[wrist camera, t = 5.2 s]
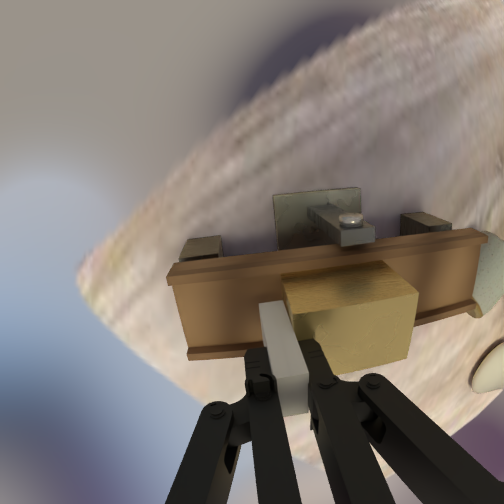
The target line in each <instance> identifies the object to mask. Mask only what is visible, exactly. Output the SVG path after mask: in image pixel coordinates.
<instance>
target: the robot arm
mask: <svg viewBox="0 0 504 504" xmlns="http://www.w3.org/2000/svg"><path fill="white" fill-rule="evenodd" d="M259 312H260V320H261V329H262V337H263V343H264V347H261V348H253V349H247V351H246V353H245V355H244V361H245V372H246V380H245V388H246V395H245V396H244V397H243V398H242V399H241V400H240V401H238V402H236V403H233V404H230V405H229V404H228V403H226V402H222V401H215V402H212V403H209V404H207V405H206V406H205V407H204V408H203V410H202V411H201V414H200V416H199V419H198V422H197V424H196V427H195V429H194V432H193V434H192V437H191V439H190V442H189V445H188V447H187V449H186V452H185V455H184V457H183V460H182V462H181V465H180V467H179V470H178V472H177V475H176V477H175V480H174V482H173V485H172V487H171V490H170V492H169V495H168V497H167V500H166V502H165V504H227V500H228V496H229V492H230V489H231V485H232V481H233V477H234V473H235V469H236V465H237V461H238V457H239V453H240V449H241V445H242V444H245V443H247V442H249V441H252V450H253V458H254V468H255V477H256V486H257V494H258V503H259V504H302V502H301V498H300V493H299V488H298V484H297V479H296V474H295V470H294V465H293V461H292V456H291V451H290V447H289V442H288V437H287V433H286V428H285V423H284V419H283V417H287V416H293V415H299V414H304V413H308V411H309V410H310V413H311V422H310V430H314V434H315V437H316V440H317V444H318V447H319V450H320V454H321V457H322V461H323V464H324V467H325V471H326V474H327V477H328V481H329V484H330V488H331V491H332V494H333V498H334V501H335V504H396V503H395V501H394V499H393V496H392V494H391V492H390V489H389V487H388V484H387V483H386V480H385V478H384V475H383V473H382V471H381V468H380V466H379V464H378V461H377V459H376V457H375V455H374V452H373V450H372V448H371V446H370V444H371V445H372V446H373V447H374V448H375V450H376V451H377V452H378V453H379V454H380V455H381V457H382V458H383V459H384V460H385V461H386V462H387V464H388V465H389V466H390V467H391V468H392V469H393V470H394V472H395V473H396V474H397V475H398V476H399V477H400V478H401V480H402V481H403V482H404V483H405V484H406V485H407V486H408V487H409V489H410V490H411V491H412V492H413V493H414V494H415V495H416V497H417V498H418V499H419V500H420V501H421V502H422V503H423V504H504V482H501V481H498V480H497V479H496V478H495V477H494V476H493V475H492V474H491V473H489V472H488V471H487V470H486V469H485V468H484V467H483V466H482V465H481V464H480V463H478V462H477V461H476V460H475V459H474V458H473V457H472V456H471V455H470V454H468V453H467V452H466V451H465V450H464V449H463V448H462V447H461V446H460V445H459V444H458V443H456V442H455V441H454V440H453V439H452V438H451V437H450V436H449V435H448V434H447V433H445V432H444V431H443V430H442V429H441V428H440V427H439V426H438V425H437V424H436V423H435V422H433V421H432V420H431V419H430V418H429V417H428V416H427V415H426V414H425V413H424V412H422V411H421V410H420V409H419V408H418V407H417V406H416V405H415V404H414V403H413V402H412V401H410V400H409V399H408V398H407V397H406V396H405V395H404V394H403V393H402V392H401V391H399V390H398V389H397V388H396V387H395V386H394V385H393V384H392V383H391V382H390V381H389V380H387V379H386V378H385V377H384V376H382V375H381V374H377V373H369V374H366V375H364V376H363V377H361V379H360V380H359V382H348V381H343V380H340V379H339V378H338V377H337V376H336V375H334V374H333V372H332V370H331V368H330V365H329V363H328V361H327V359H326V357H325V355H324V352H323V351H322V348H321V346H320V344H319V343H318V342H317V341H316V340H314V339H313V338H312V339H306V340H301V341H297V338H296V335H295V333H294V331H293V327H292V324H291V322H290V319H289V316H288V314H287V311H286V308H285V305H284V303H283V300H279V301H273V302H266V303H259ZM369 442H370V443H369Z"/></svg>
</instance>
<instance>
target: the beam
mask: <svg viewBox="0 0 504 504" xmlns="http://www.w3.org/2000/svg"><path fill="white" fill-rule="evenodd" d="M485 243H488V235H486V234H484V233H481V232H479V231H477V230H475V229H472V228H465V229H457V230H448V231H440V232H432V233H423V234H415V235H407V236H398V237H390V238H382V239H375V242H372V243H364V244H357V245H350V246H343V247H341V246H340V245H339V244H331V245H323V246H314V247H306V248H297V249H289V250H280V251H272V252H263V253H255V254H246V255H238V256H229V257H221V258H212V259H204V260H195V261H186V262H178V263H174V264H173V266H172V268H171V269H170V271H169V273H168V275H167V276H166V279H167V283H168V286H171V285H172V287H173V291H174V295H175V299H176V303H177V307H178V311H179V315H180V319H181V323H182V326H183V330H184V334H185V337H186V341H187V345H188V351H187V357H188V360H189V361H193V360H209V359H223V358H235V357H244V355H245V353H246V351H247V349H253V348H261V347H264V343H263V337H262V329H261V320H260V312H259V303H266V302H273V301H279V300H282V288H281V276H280V274H281V273H289V272H297V271H305V270H313V269H321V268H328V267H336V266H343V265H350V264H357V263H364V262H372V261H378V260H383V261H384V262H385V263H386V264H387V265H388V266H390V267H391V268H392V269H393V270H394V271H395V272H397V273H398V274H399V275H400V276H401V277H402V278H403V279H405V280H406V281H407V282H408V283H409V284H410V285H411V286H412V287H414V288H415V289H416V290H417V291H418V292H419V296H418V303H417V309H416V315H415V321H414V326H413V327H416V326H419V325H423V324H427V323H430V322H434V321H438V320H441V319H444V318H448V317H451V316H454V315H458V314H461V313H464V312H467V311H470V310H473V309H475V308H476V304H477V303H476V302H475V301H474V300H473V299H472V295H473V290H474V285H475V280H476V275H477V269H478V263H479V256H480V249H481V244H485Z"/></svg>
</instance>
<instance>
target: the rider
mask: <svg viewBox="0 0 504 504" xmlns="http://www.w3.org/2000/svg"><path fill="white" fill-rule="evenodd" d="M280 276H281V288H282V300H283V303H284V305H285V308H286V311H287V314H288V316H289V319H290V322H291V324H292V327H293V331H294V333H295V335H296V338H297V341H301V340H306V339H312V338H313V339H314V340H316V341H317V342H318V343H319V344H320V346H321V348H322V351H323V352H324V355H325V357H326V359H327V361H328V363H329V365H330V368H331V370H332V372H333V374H334V375H340V374H345V373H350V372H354V371H359V370H363V369H368V368H372V367H376V366H380V365H384V364H388V363H392V362H395V361H399V360H403V359H406V358H407V355H408V350H409V346H410V341H411V336H412V331H413V326H414V321H415V315H416V309H417V303H418V296H419V292H418V291H417V290H416V289H415V288H414V287H412V286H411V285H410V284H409V283H408V282H407V281H406V280H405V279H403V278H402V277H401V276H400V275H399V274H398V273H397V272H395V271H394V270H393V269H392V268H391V267H390V266H388V265H387V264H386V263H385V262H384V261H383V260H378V261H372V262H364V263H357V264H350V265H343V266H336V267H328V268H321V269H313V270H305V271H297V272H289V273H281V274H280Z"/></svg>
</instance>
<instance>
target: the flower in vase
mask: <svg viewBox="0 0 504 504" xmlns="http://www.w3.org/2000/svg"><path fill="white" fill-rule="evenodd" d="M497 389H504V342H503V343H501V344H500V345H498V346H497V347H495V348H494V349H493V350H492V351H491V352H490V353H489V354H488V355H487V356H486V358H485V359H484V360H483V362H482V363H481V364H480V366H479V367H478V369H477V371H476V373H475V375H474V377H473V380H472V390H473V391H474V392H476V393H486V392H490V391H493V390H497Z"/></svg>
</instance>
